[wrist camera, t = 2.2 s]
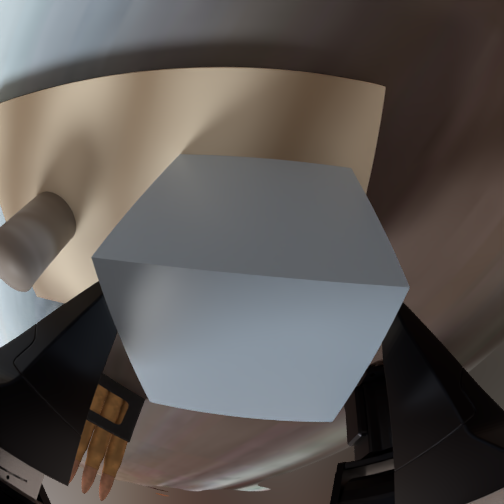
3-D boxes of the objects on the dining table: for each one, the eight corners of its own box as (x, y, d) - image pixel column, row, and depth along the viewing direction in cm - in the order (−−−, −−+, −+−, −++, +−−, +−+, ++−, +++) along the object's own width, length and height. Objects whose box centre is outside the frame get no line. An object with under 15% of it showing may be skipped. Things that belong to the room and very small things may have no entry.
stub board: (376, 83, 10) (437, 105, 5) (322, 322, 17) (328, 402, 13) (-6, 104, 11) (-75, 138, 6) (45, 285, 18) (8, 338, 14)
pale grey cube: (351, 168, 11) (409, 286, 5) (322, 295, 14) (332, 421, 9) (179, 154, 11) (91, 256, 6) (189, 282, 15) (150, 401, 9)
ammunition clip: (50, 344, 23) (0, 448, 14) (55, 338, 22) (2, 449, 13) (136, 402, 27) (106, 502, 18) (145, 399, 27) (114, 505, 17)
